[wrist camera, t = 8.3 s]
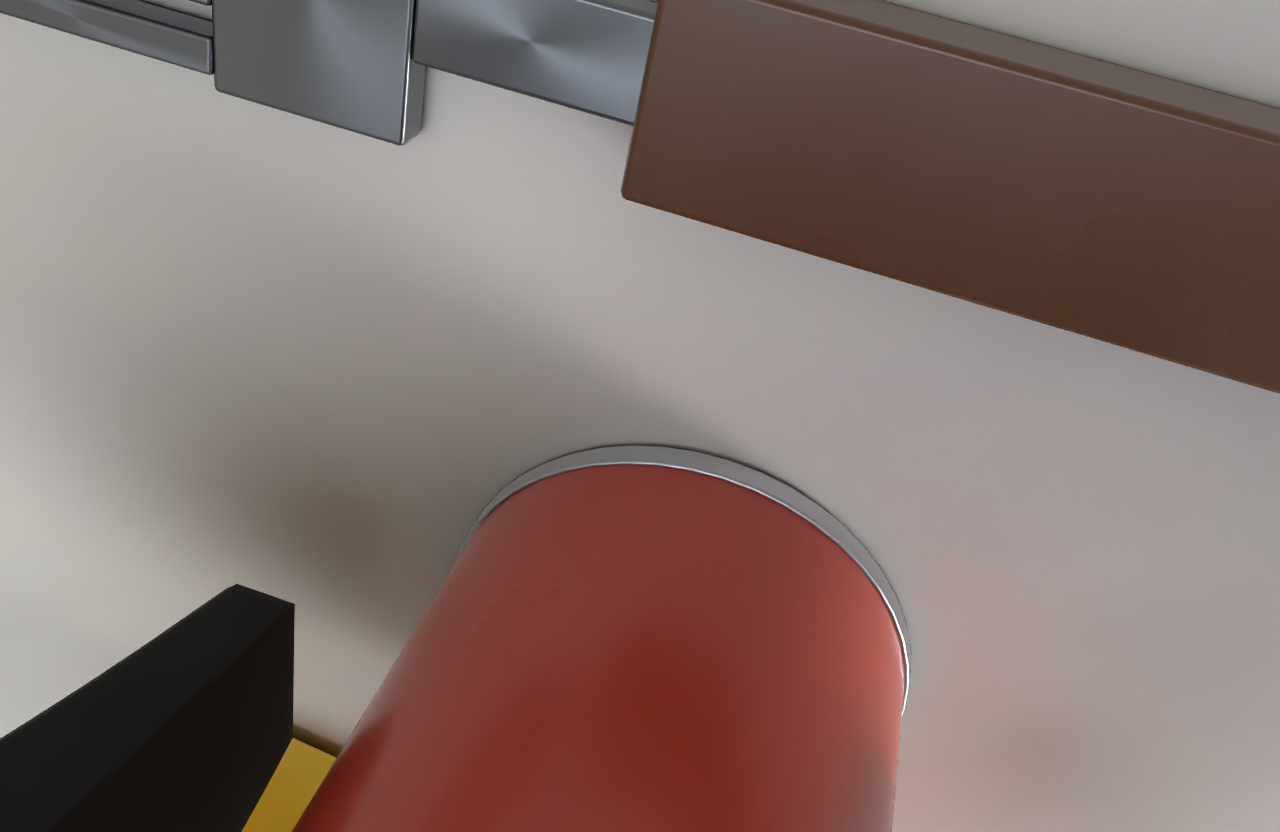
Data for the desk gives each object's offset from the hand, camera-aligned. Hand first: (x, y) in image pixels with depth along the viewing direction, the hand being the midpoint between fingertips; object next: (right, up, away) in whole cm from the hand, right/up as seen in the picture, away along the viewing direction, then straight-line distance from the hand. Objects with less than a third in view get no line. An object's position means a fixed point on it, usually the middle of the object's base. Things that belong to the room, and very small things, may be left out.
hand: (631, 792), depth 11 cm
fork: (+2, +6, -2) cm, 6 cm away
